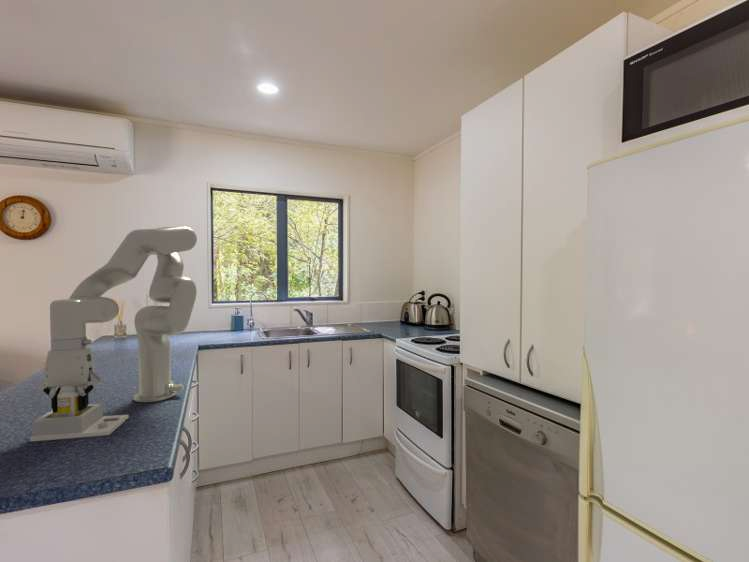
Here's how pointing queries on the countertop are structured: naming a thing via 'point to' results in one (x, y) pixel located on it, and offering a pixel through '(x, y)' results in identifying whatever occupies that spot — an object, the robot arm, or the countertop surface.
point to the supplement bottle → (68, 402)
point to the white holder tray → (76, 424)
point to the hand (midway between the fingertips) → (70, 409)
